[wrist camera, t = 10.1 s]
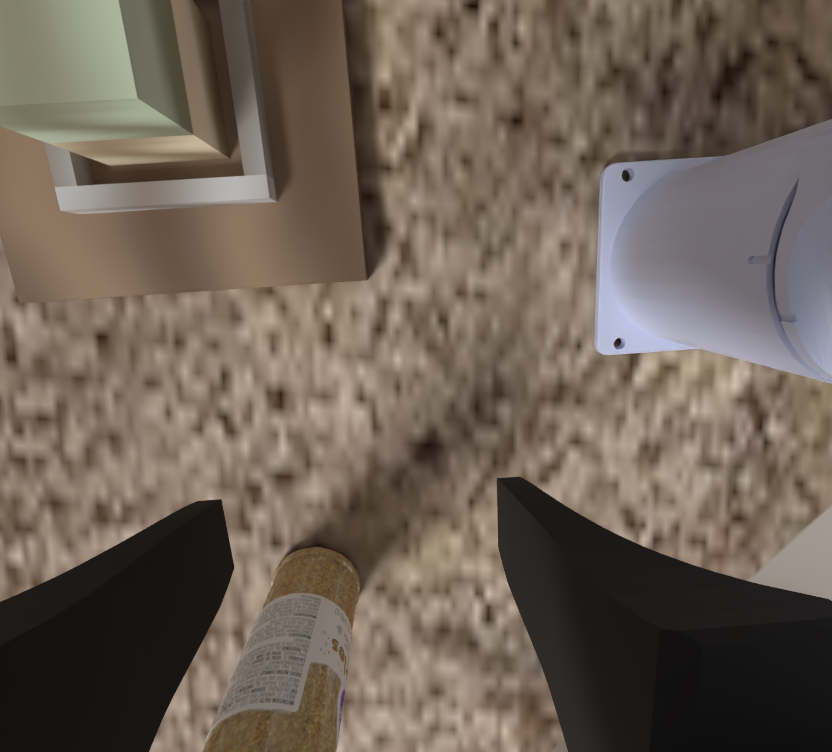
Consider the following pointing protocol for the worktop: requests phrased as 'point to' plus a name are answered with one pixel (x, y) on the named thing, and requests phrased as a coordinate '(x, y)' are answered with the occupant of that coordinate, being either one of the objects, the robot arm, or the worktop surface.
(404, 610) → the worktop surface
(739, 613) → the robot arm
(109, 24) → the block stack
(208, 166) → the walnut board
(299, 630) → the sprinkles bottle
